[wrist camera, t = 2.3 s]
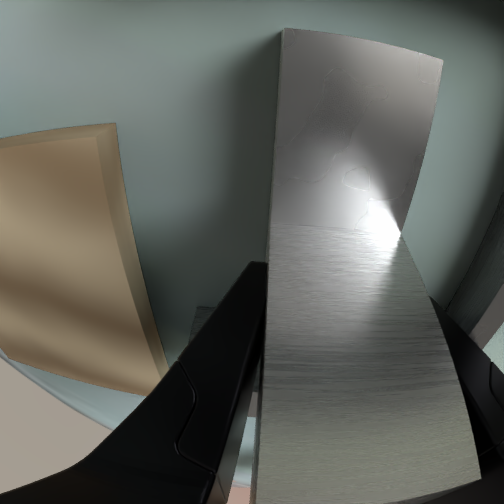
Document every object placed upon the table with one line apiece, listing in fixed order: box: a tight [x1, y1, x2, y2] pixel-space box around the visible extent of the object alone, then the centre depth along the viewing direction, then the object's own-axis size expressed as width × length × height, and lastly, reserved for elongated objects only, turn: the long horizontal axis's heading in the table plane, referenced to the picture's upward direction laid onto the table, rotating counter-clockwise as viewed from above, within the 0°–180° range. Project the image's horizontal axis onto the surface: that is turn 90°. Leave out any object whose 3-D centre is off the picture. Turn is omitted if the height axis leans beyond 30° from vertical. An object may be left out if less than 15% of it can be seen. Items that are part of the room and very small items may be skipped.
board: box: [0, 123, 169, 396], centre depth 12 cm, size 14×12×1 cm
